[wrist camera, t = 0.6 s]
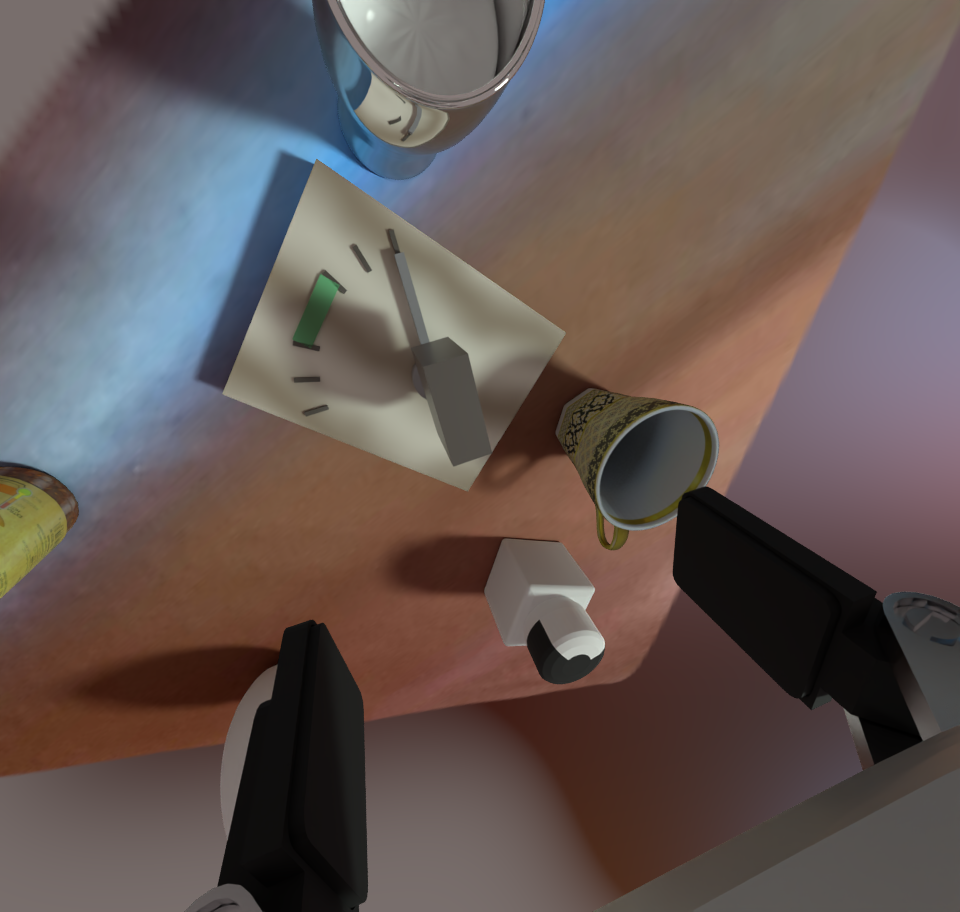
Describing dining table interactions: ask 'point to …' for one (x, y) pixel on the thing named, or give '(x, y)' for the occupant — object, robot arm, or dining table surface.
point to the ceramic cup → (636, 456)
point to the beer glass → (419, 72)
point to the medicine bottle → (545, 608)
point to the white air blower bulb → (241, 742)
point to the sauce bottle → (30, 520)
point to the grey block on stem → (446, 385)
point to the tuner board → (380, 332)
